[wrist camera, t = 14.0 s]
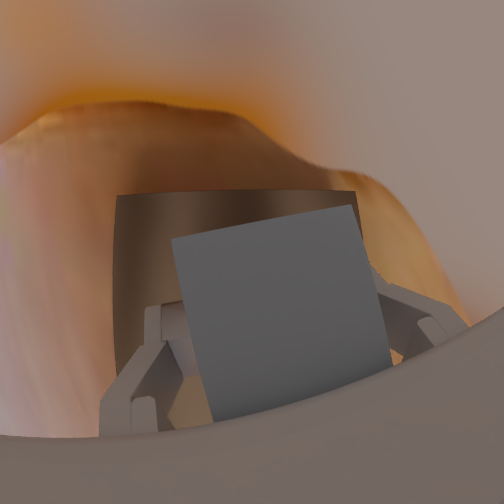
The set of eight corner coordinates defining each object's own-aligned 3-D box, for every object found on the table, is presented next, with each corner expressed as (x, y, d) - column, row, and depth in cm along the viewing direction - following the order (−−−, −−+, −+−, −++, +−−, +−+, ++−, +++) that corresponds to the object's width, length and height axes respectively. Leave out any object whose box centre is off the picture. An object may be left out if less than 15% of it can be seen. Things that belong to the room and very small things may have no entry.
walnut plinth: (138, 429, 16) (126, 445, 13) (129, 213, 19) (117, 195, 16) (353, 411, 18) (374, 423, 15) (337, 208, 21) (355, 191, 18)
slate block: (216, 372, 13) (216, 431, 6) (195, 284, 14) (170, 239, 6) (304, 350, 14) (394, 375, 6) (283, 265, 15) (351, 204, 7)
